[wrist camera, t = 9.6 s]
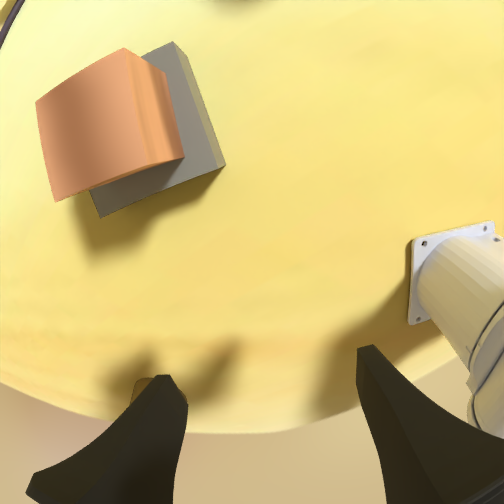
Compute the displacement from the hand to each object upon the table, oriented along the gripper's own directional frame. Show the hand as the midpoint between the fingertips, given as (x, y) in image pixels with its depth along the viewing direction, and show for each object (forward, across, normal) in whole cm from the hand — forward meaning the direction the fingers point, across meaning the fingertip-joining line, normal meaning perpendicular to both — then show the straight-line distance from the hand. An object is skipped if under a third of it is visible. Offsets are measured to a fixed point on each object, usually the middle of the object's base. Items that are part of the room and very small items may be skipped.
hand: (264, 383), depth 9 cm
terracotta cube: (+7, +5, -11) cm, 14 cm away
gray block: (+11, +5, -11) cm, 16 cm away
